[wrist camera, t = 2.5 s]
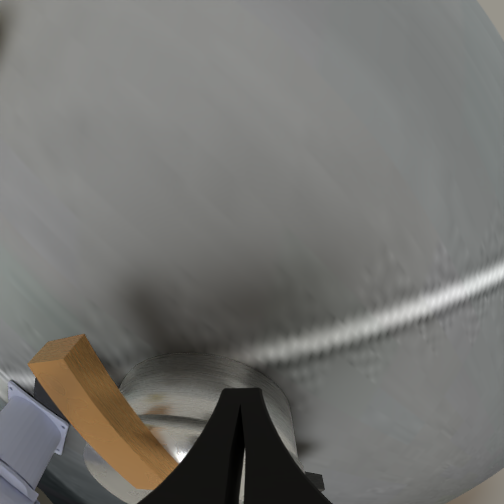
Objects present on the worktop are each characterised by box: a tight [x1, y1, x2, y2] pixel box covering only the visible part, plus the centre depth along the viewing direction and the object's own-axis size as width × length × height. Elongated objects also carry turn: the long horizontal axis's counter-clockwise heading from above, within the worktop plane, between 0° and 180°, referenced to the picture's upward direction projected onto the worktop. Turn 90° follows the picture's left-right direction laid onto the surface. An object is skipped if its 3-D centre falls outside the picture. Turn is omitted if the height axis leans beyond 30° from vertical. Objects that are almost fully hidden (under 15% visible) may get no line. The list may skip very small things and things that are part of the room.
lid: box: [28, 334, 305, 504], centre depth 13 cm, size 20×15×3 cm
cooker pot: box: [34, 353, 325, 492], centre depth 18 cm, size 22×14×6 cm, turn 57°
